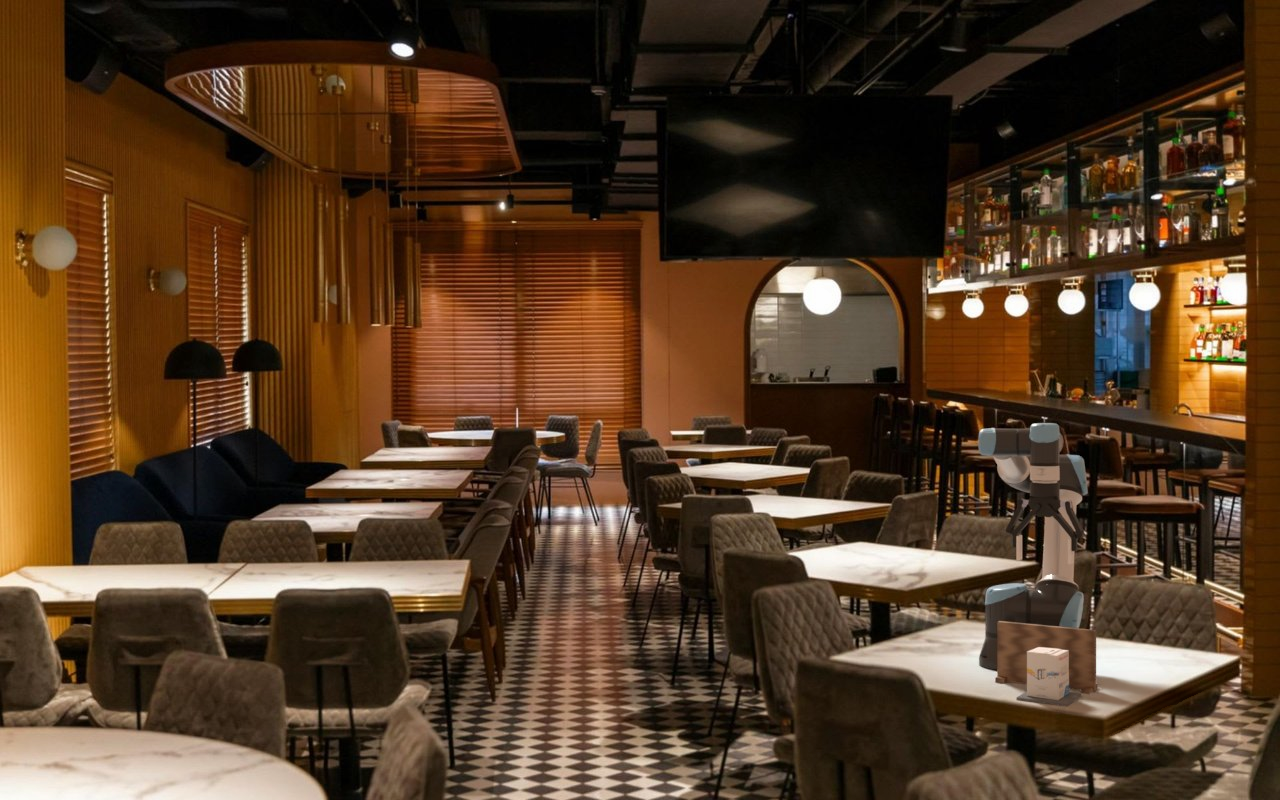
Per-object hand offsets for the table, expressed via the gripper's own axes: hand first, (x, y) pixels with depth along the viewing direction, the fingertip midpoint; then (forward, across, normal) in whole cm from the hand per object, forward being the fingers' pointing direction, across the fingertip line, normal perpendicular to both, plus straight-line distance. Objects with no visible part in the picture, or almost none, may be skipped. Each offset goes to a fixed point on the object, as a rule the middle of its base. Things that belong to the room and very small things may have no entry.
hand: (1044, 561), depth 365 cm
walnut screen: (+34, -1, +5) cm, 34 cm away
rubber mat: (+34, +4, -9) cm, 35 cm away
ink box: (+33, +3, -9) cm, 35 cm away
